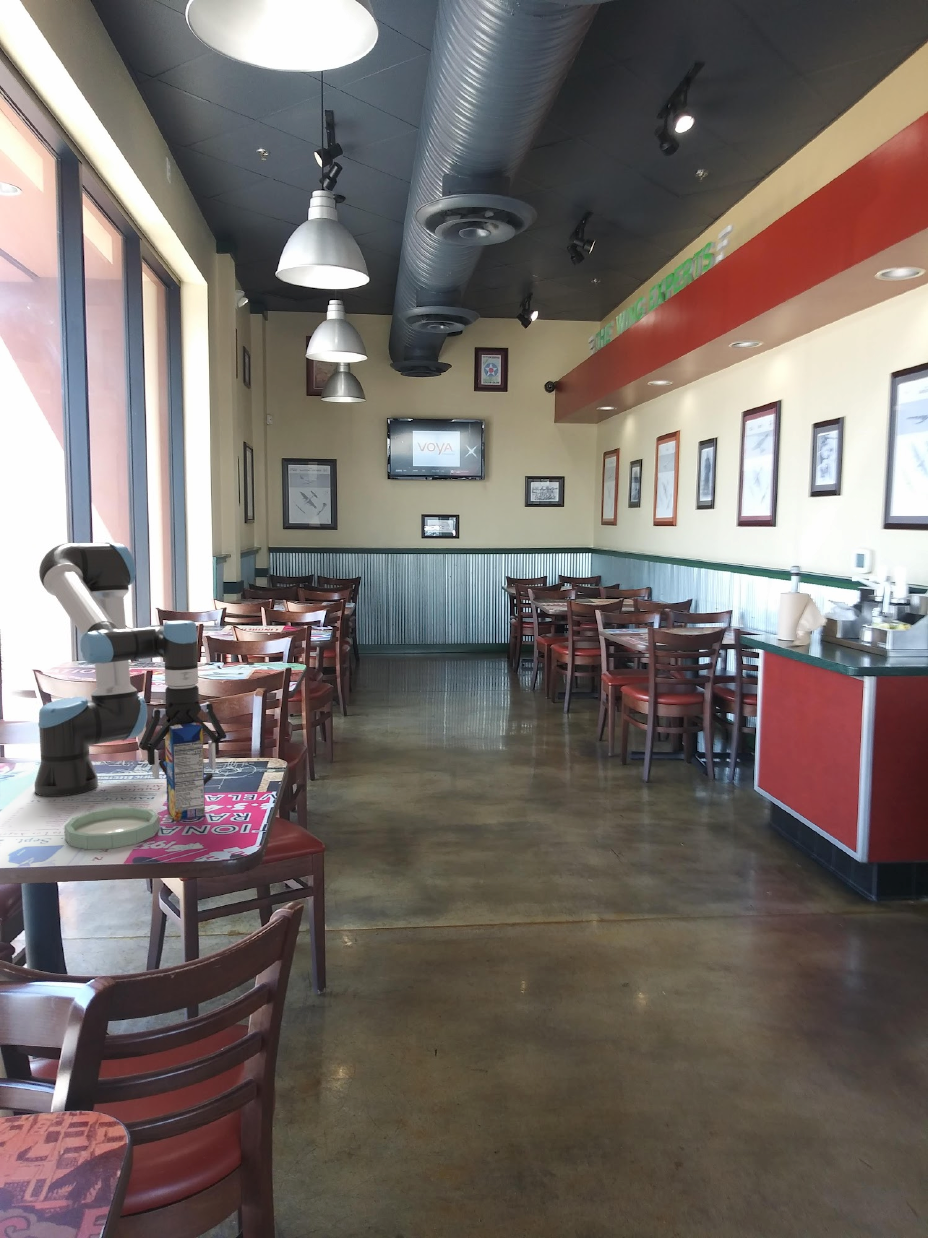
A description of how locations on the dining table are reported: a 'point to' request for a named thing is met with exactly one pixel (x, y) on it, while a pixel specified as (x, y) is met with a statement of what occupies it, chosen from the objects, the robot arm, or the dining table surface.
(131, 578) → the robot arm
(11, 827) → the dining table surface
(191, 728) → the beverage box
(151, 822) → the round tray
